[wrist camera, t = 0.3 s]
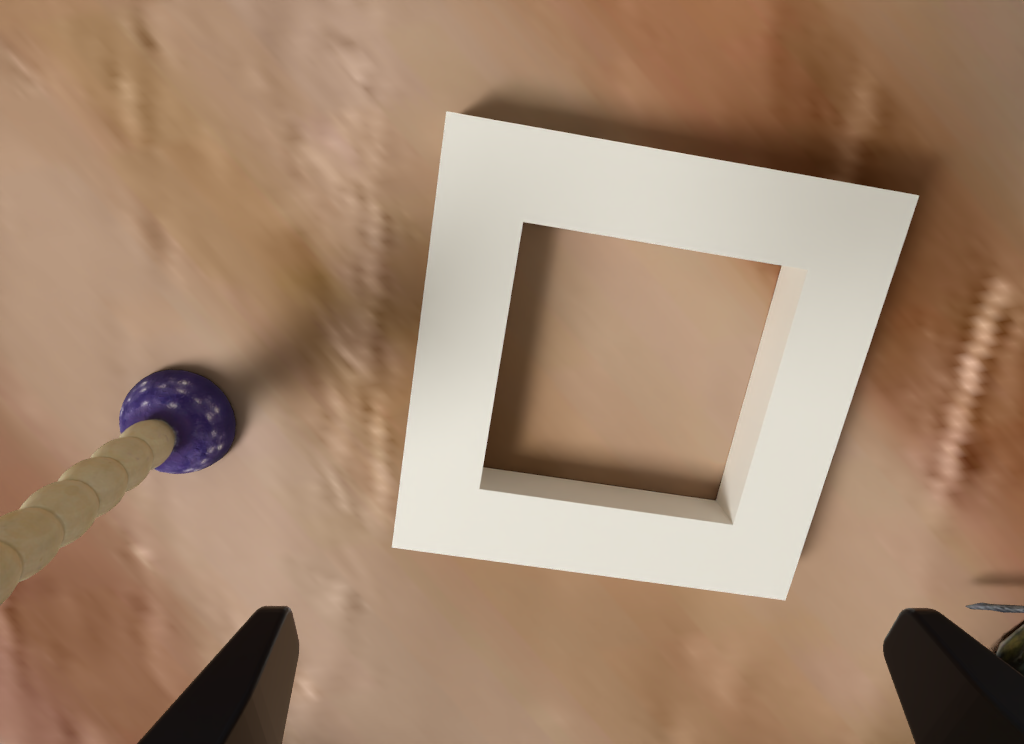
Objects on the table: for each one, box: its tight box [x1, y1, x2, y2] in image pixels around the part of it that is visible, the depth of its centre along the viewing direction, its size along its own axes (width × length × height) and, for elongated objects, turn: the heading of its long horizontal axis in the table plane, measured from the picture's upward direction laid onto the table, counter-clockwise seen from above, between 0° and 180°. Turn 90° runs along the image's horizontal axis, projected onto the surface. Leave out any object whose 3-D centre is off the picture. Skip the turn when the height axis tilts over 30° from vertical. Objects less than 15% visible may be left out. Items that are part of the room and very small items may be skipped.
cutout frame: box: [392, 111, 919, 600], centre depth 23 cm, size 16×16×2 cm
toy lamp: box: [0, 370, 236, 605], centre depth 16 cm, size 5×5×17 cm
